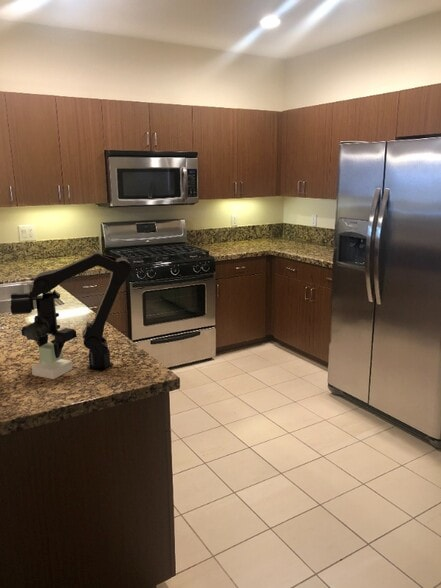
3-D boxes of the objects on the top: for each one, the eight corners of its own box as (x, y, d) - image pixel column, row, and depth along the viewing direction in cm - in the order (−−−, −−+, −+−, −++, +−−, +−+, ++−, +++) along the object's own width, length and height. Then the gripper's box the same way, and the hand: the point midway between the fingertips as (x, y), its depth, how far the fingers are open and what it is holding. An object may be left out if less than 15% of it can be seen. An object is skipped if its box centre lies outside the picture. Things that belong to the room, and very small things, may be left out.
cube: (62, 358, 159) (61, 344, 158) (51, 363, 155) (50, 349, 153) (51, 356, 161) (49, 342, 160) (40, 361, 157) (38, 347, 155)
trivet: (72, 369, 161) (71, 360, 160) (53, 379, 153) (52, 370, 152) (51, 365, 165) (51, 357, 164) (32, 375, 157) (31, 366, 156)
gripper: (5, 315, 150) (11, 361, 154) (50, 321, 143) (55, 369, 147) (31, 306, 160) (36, 349, 164) (75, 312, 153) (79, 357, 157)
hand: (51, 356), depth 158 cm, fingers closed on cube, 5 cm apart
